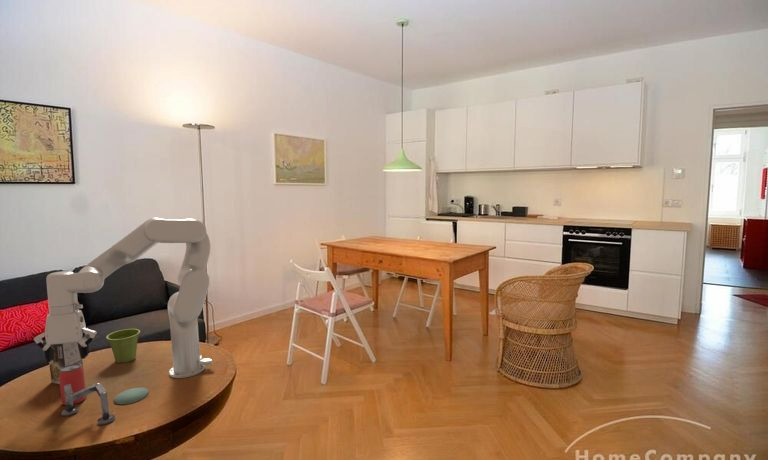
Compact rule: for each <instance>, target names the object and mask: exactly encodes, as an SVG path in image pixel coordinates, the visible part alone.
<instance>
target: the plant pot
mask: <svg viewBox="0 0 768 460" xmlns="http://www.w3.org/2000/svg"><path fill="white" fill-rule="evenodd" d="M140 333H141V330H140V329H137V328H126V329H121V330H116V331H113V332H111V333H108V334H107V335H106V337H105V338H106V339H107V340H108V343H109V344H110V347H111V348H110V349H111V351H112V354H113V357H114V359H115V362H116V363H119V364H120V363H128V362H131V361H133V360H134V359H135V358H136V357H137V350H138V348H137V347H138V341H139V340H138V339H139V336H140Z"/></svg>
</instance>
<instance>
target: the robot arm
mask: <svg viewBox="0 0 768 460" xmlns="http://www.w3.org/2000/svg"><path fill="white" fill-rule="evenodd" d="M159 243H160V244H185V246H186V247H185V253H184V257H183V261H182V262H181V263H182V264H181V266H180V269H179V273H178V274H177V275H178V276H177V281H178V283H179V285H180V286H179V289H178V291H176V292H175V293H173V294H172V295H171V296H170V297H169V300H168V301H167V313H168V319H169V326H170V327H169V329H170V330H169V331H170V341H171V343H170V344H171V354H172V355H171V356H172V367H171V368H170V369H169V371H168V374H169V376H170V377H171V378H174V379H183V378H190V377H193V376H196V375H198V374H201V373H202V372H203V371H204V370H205V369H206V366H210V365H213V359H211V358H210V357H207V358H203V357H202V356H203V355H202V354H201V352H200V351H201V350H200V337H199V324H198V317H199V316H200V315H201V313H202V310H203V307H204V303H205V300H206V297H207V294H208V290H209V287H210V276H209V274H208V272H207V271H206V269H207V265H208V262H209V258H210V253H211V241H210V237H209V235H208V233H207V226H206V225H205V224H204V223H203V222H202V221H201V220H198V219H195V218H192V217H191V218H190V217H188V218H183V219H167V218H166V219H165V218H160V217H150V218H148V219H147V220H146V221H144V222H143V223H141V224H139V226H137V227H136V228H134V230H132V231H131V232H130V233H128V234H127V235H125V236H124V237H123V238H122V239H120V240H118V241H117V242H116V243H114V244H113V245H112V246H111V247H109V248H108V249H106V250H105V251H104V252H102V253H101V254H99V255H98V256H97V257H95V258H94V259H93V260H91V261H90V262H89V263H87V264H86V265H85V266H84V267H82V268H81V269H79V271H78V272H73V271H69V270H67V271H66V270H63V271H55V272H51V273H49V274H48V275H47V276H46V278H45V279H46V280H45V281H46V292H47V303H48V314H47V316H46V320H45V326H44V328H45V330H44V332H42V333H41V334H39V335H37V336H34V337H33V341H34V342H35V344H37V346H38V347H39V348H41V349H42V351H44V359H45V360H46V363H49V362H50V361H52V360H53V359H54V350H53V347H51V346H52V345H54V344H65V343H75V342H78V343H79V344H80V345H81V358H82V360H84V359H86V358H87V357H88V356H89V354H90V346H89V345H90V343H91V342H93V341H94V340H95V338H96V336H97V333H98V332H97V331H96V330H93V329H89V328H88V327H87V326H86V322H85V317H84V313H83V310H81V309H83V308H84V306H83V304H82V303H81V304H80V302H79V301H78V293H79V294H81V293H83V294H87V293H88V294H89V293H90V294H91V293H95V292H98V291H99V290H101V289H102V288H103V286H104V283H105V279H106V278H108V277H109V276H111V275H112V274H113V273H114V272H115V271H117V270H118V269H120V268H121V267H123V266H125V265H127V264H131V263H133V262H135V261H136V260H138V259H139V258H141V257H142V256H143V255H145V254H146V252H148V251H149V250H151V249H152V248H153V247H155V246H156V245H157V244H159ZM87 335H89V337H88V338H86V337H87ZM43 338H45V340H43Z"/></svg>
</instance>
